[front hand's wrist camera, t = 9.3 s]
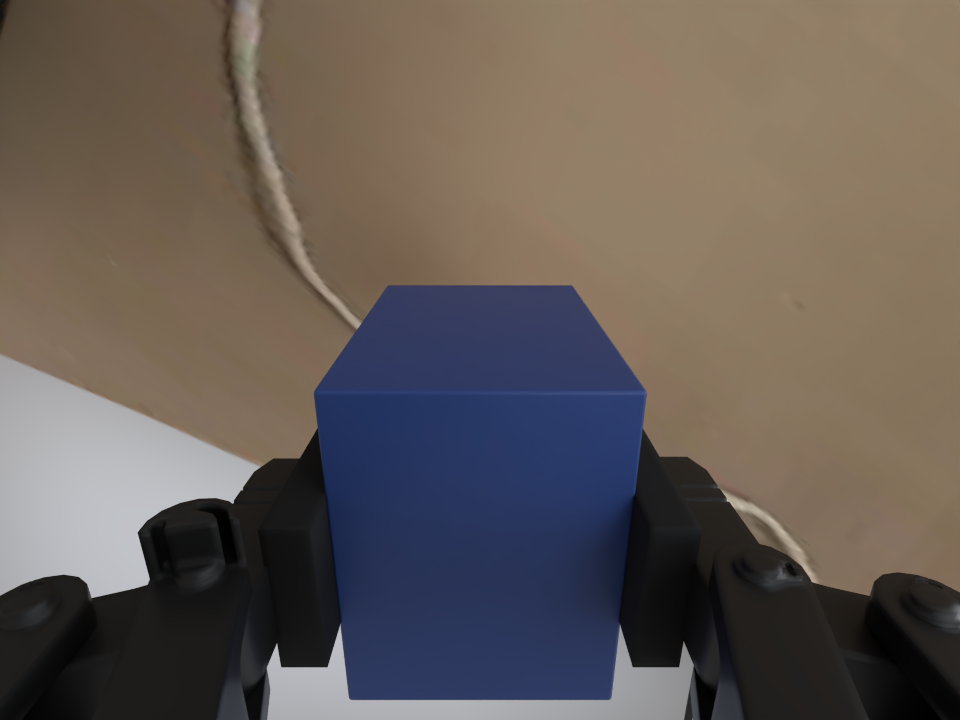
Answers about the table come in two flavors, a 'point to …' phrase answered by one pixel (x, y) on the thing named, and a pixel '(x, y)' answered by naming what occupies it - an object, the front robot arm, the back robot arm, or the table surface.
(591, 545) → the brick
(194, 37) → the table surface
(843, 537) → the table surface
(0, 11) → the decorative sign
